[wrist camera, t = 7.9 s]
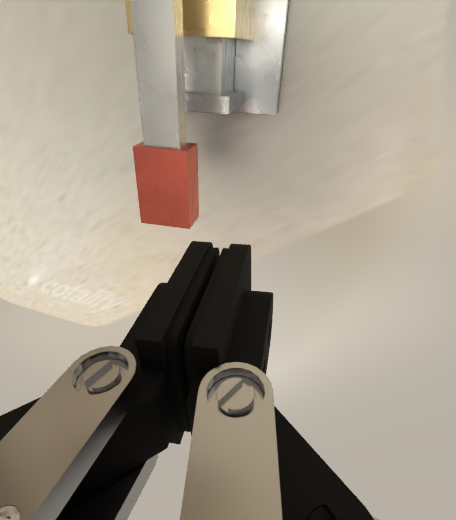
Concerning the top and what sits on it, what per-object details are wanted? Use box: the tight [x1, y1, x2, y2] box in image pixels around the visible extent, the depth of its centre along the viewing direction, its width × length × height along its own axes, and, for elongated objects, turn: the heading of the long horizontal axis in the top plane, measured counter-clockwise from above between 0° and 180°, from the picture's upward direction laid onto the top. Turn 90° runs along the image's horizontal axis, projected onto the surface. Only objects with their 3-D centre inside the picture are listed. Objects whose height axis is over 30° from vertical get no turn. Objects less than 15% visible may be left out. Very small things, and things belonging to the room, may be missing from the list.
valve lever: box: [130, 0, 199, 229], centre depth 18 cm, size 14×3×2 cm, turn 179°
